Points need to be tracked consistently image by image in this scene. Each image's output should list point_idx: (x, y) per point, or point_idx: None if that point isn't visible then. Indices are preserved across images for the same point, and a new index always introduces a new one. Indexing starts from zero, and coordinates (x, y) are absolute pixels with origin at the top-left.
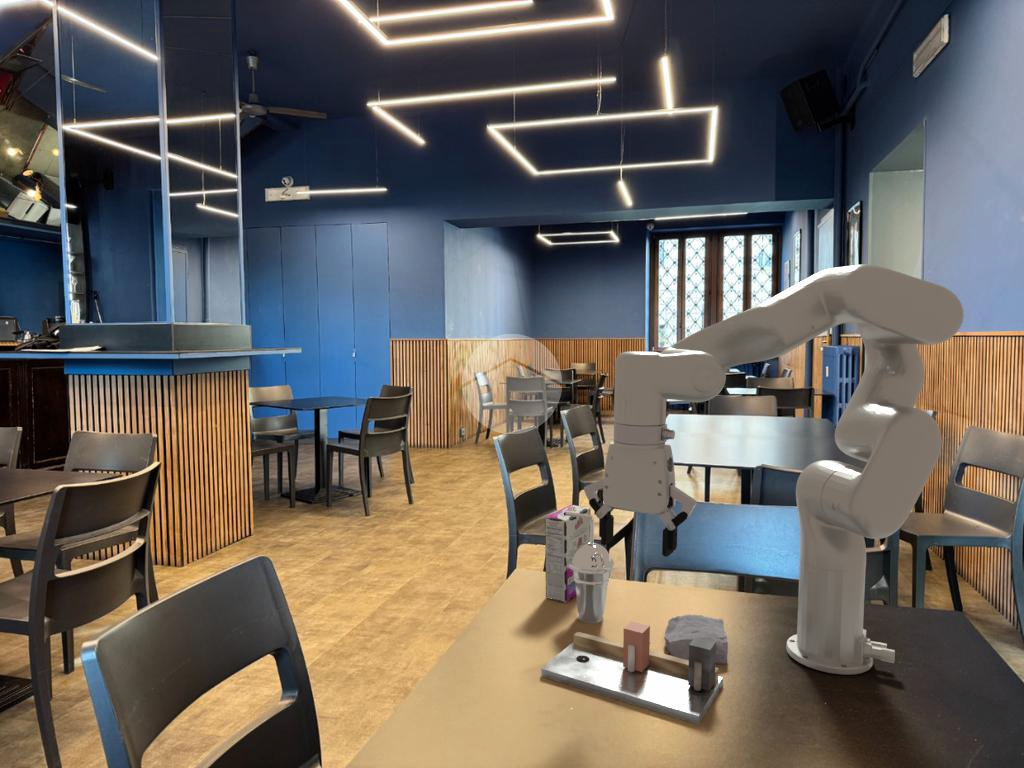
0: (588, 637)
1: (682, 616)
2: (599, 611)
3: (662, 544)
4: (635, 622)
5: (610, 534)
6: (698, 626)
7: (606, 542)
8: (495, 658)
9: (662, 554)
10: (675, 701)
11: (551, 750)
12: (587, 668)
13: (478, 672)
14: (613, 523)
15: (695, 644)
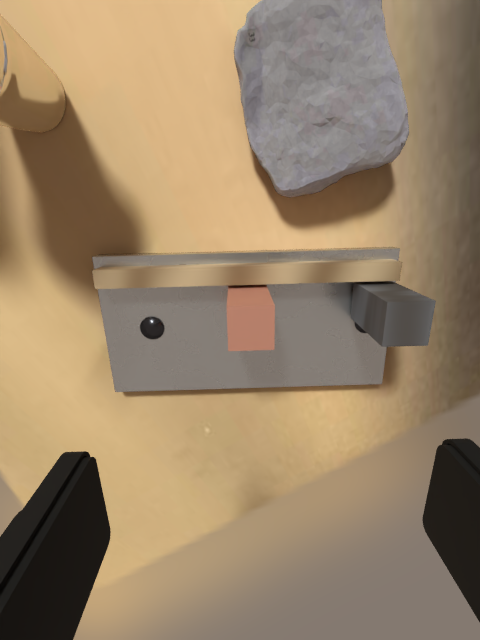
0: (126, 283)
1: (262, 9)
2: (51, 103)
3: (459, 586)
4: (237, 306)
5: (82, 528)
6: (324, 69)
7: (105, 536)
8: (20, 377)
9: (426, 529)
10: (341, 366)
11: (233, 505)
12: (177, 352)
13: (35, 424)
14: (35, 560)
15: (394, 339)
